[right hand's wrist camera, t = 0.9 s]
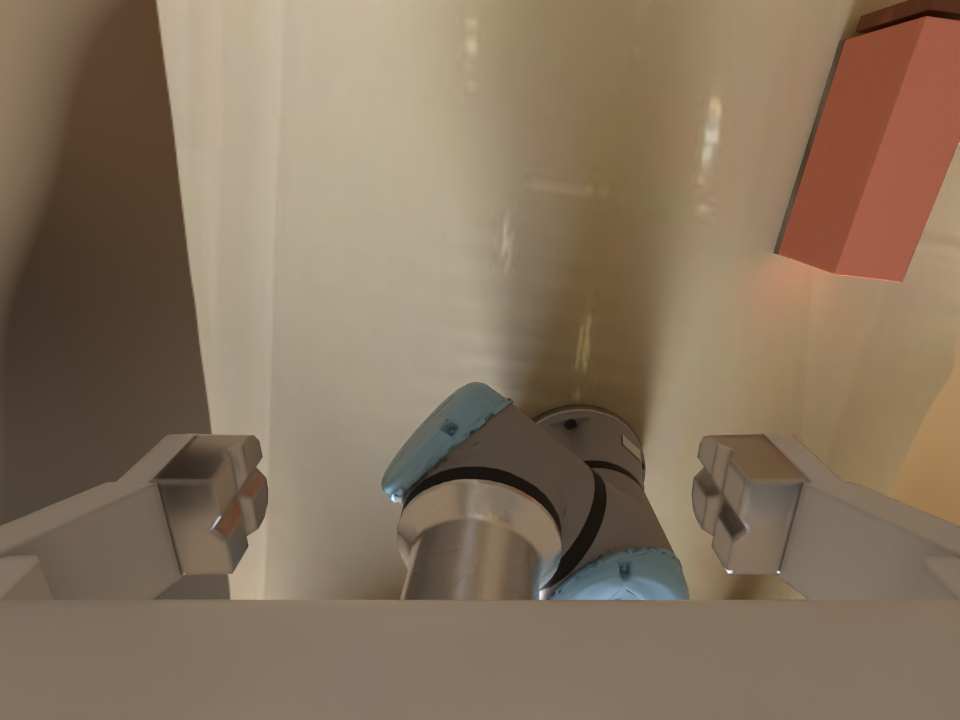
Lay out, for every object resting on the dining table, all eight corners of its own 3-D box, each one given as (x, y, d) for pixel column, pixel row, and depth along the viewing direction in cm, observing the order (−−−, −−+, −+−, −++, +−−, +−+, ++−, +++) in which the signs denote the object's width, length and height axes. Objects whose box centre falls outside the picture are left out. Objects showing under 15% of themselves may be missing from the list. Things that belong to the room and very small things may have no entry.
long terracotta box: (839, 41, 48) (926, 15, 38) (904, 49, 48) (1006, 26, 39) (773, 252, 54) (834, 274, 45) (830, 259, 55) (902, 282, 45)
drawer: (884, -59, 44) (968, -102, 37) (939, -51, 45) (1034, -92, 37) (793, 225, 53) (847, 238, 45) (840, 231, 53) (901, 245, 45)
